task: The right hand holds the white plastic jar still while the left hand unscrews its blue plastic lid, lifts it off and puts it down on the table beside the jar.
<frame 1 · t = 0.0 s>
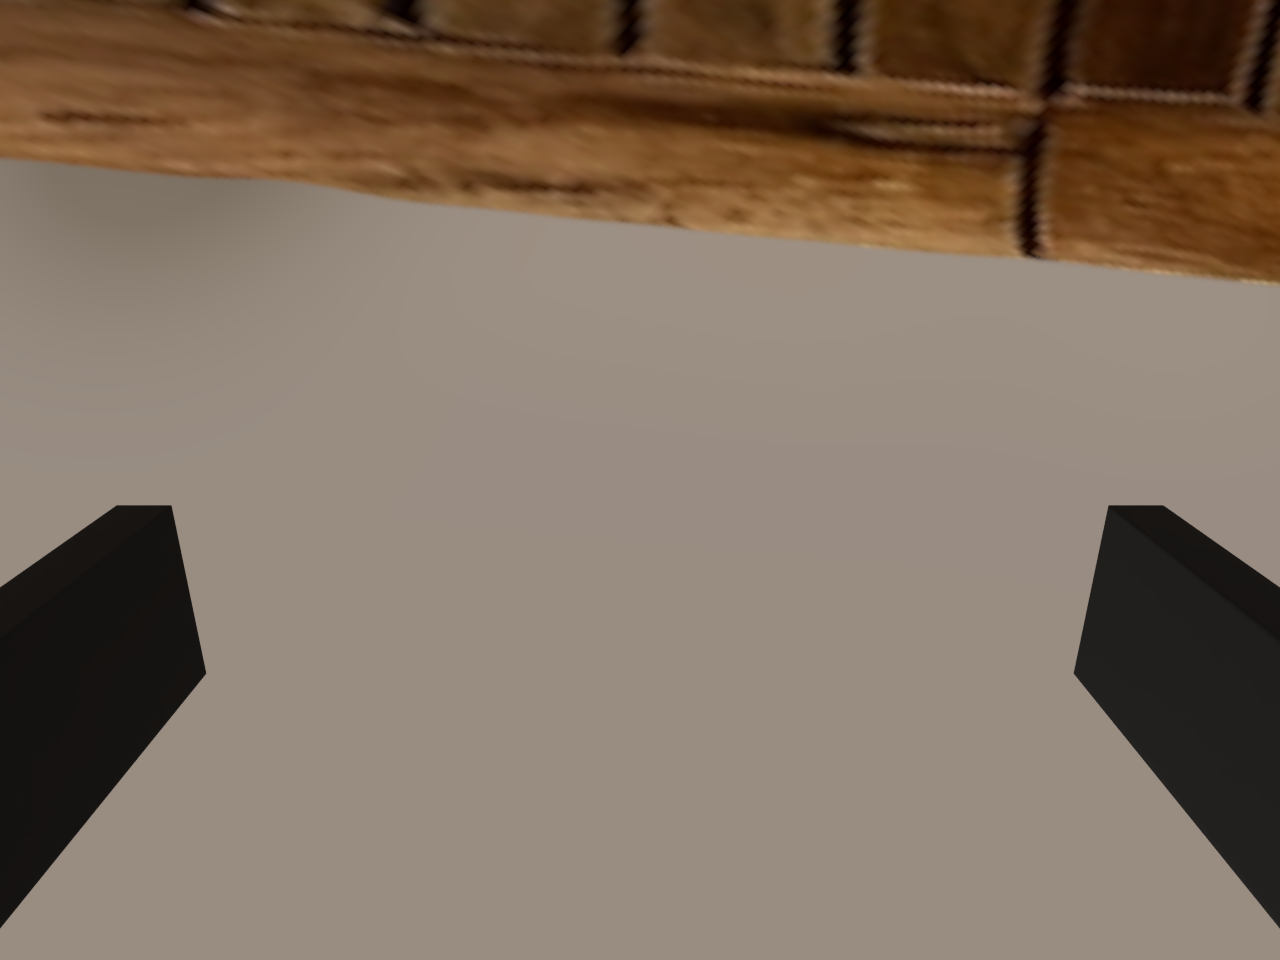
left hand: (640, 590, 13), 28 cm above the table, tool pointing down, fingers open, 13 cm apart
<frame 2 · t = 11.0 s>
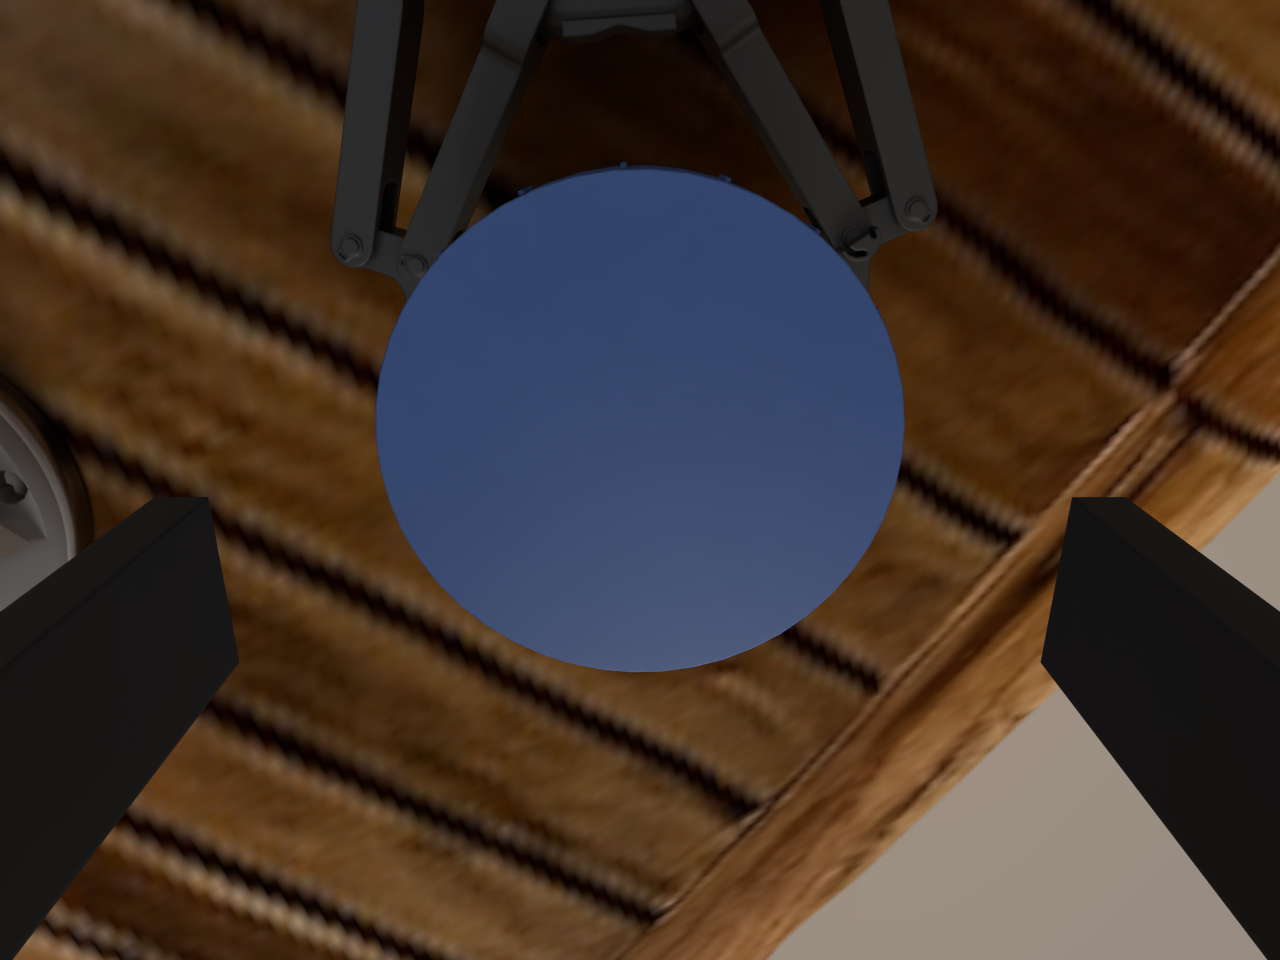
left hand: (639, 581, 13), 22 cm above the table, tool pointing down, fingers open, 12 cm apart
lid: (640, 442, 19), point 16 cm above the table, screwed on, not yet turned
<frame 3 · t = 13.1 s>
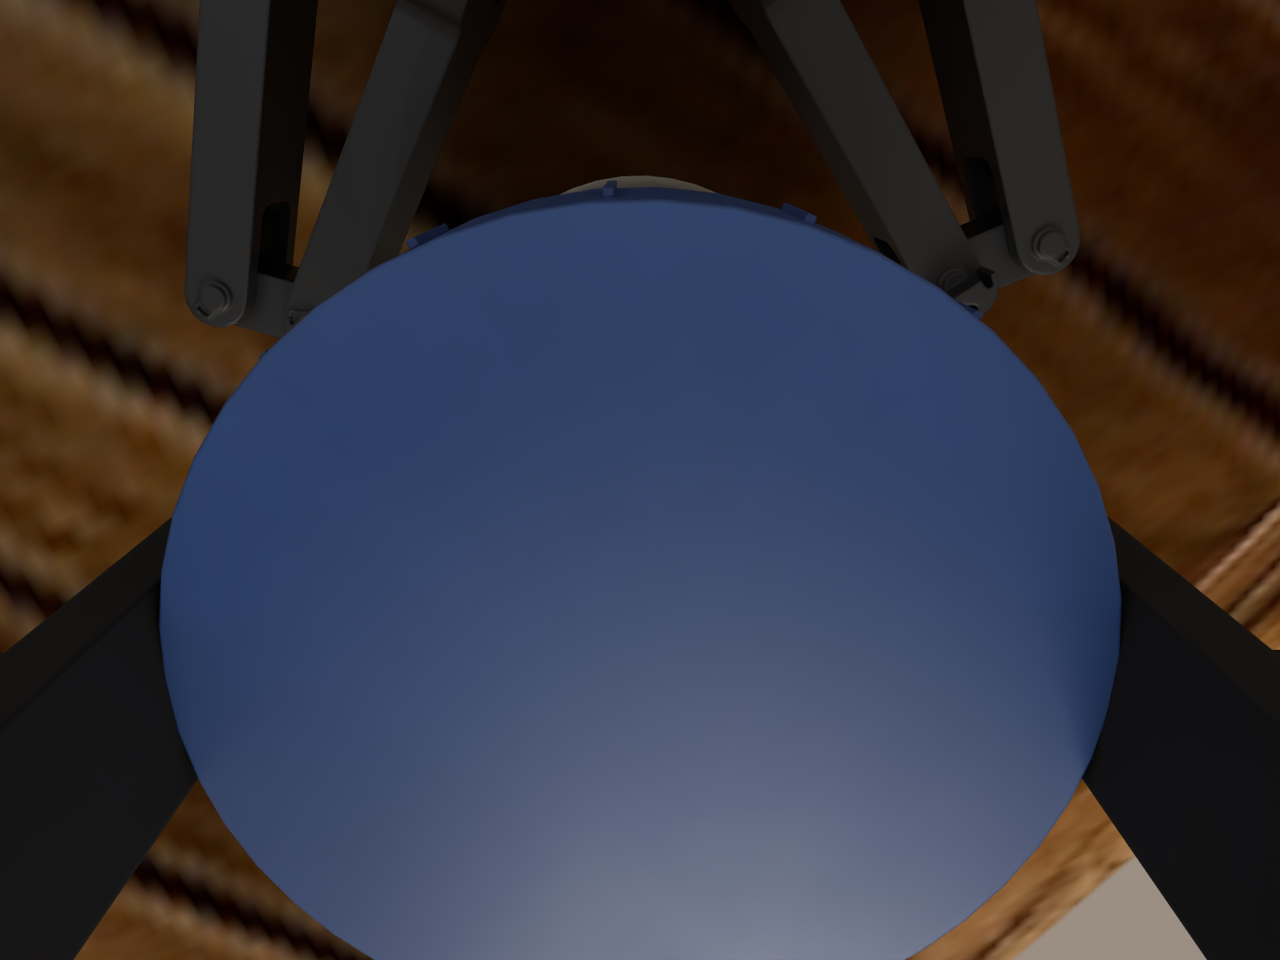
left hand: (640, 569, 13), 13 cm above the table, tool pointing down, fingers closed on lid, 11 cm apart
jar: (639, 362, 25), on the table, touching right hand
lid: (640, 677, 11), point 16 cm above the table, screwed on, not yet turned, touching left hand
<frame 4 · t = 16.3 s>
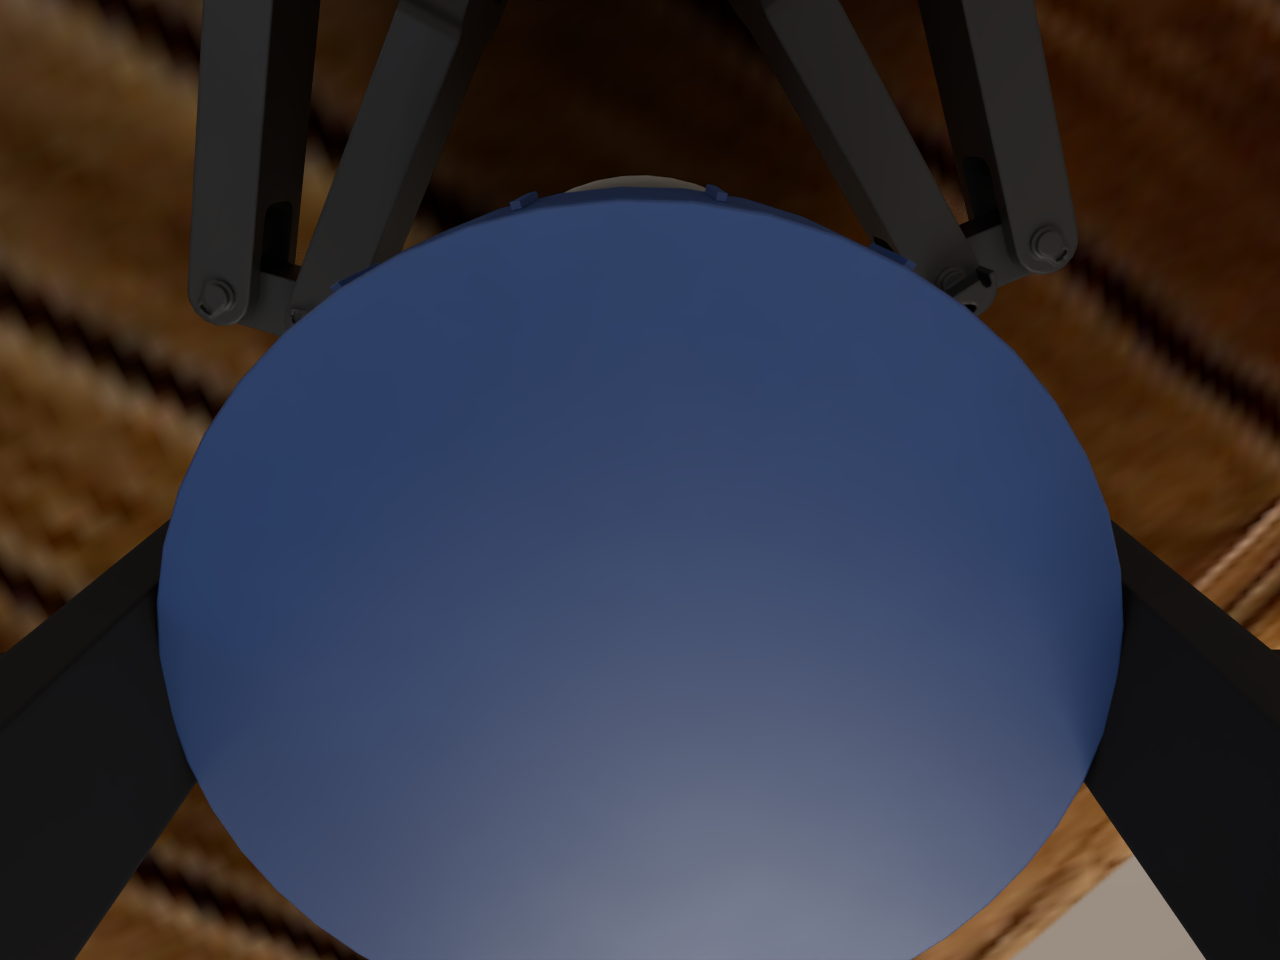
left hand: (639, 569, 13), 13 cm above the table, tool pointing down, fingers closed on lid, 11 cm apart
jar: (640, 361, 26), on the table, touching right hand
lid: (640, 679, 11), point 16 cm above the table, turned 94° so far, risen 0.1 cm, still on its thread, touching left hand
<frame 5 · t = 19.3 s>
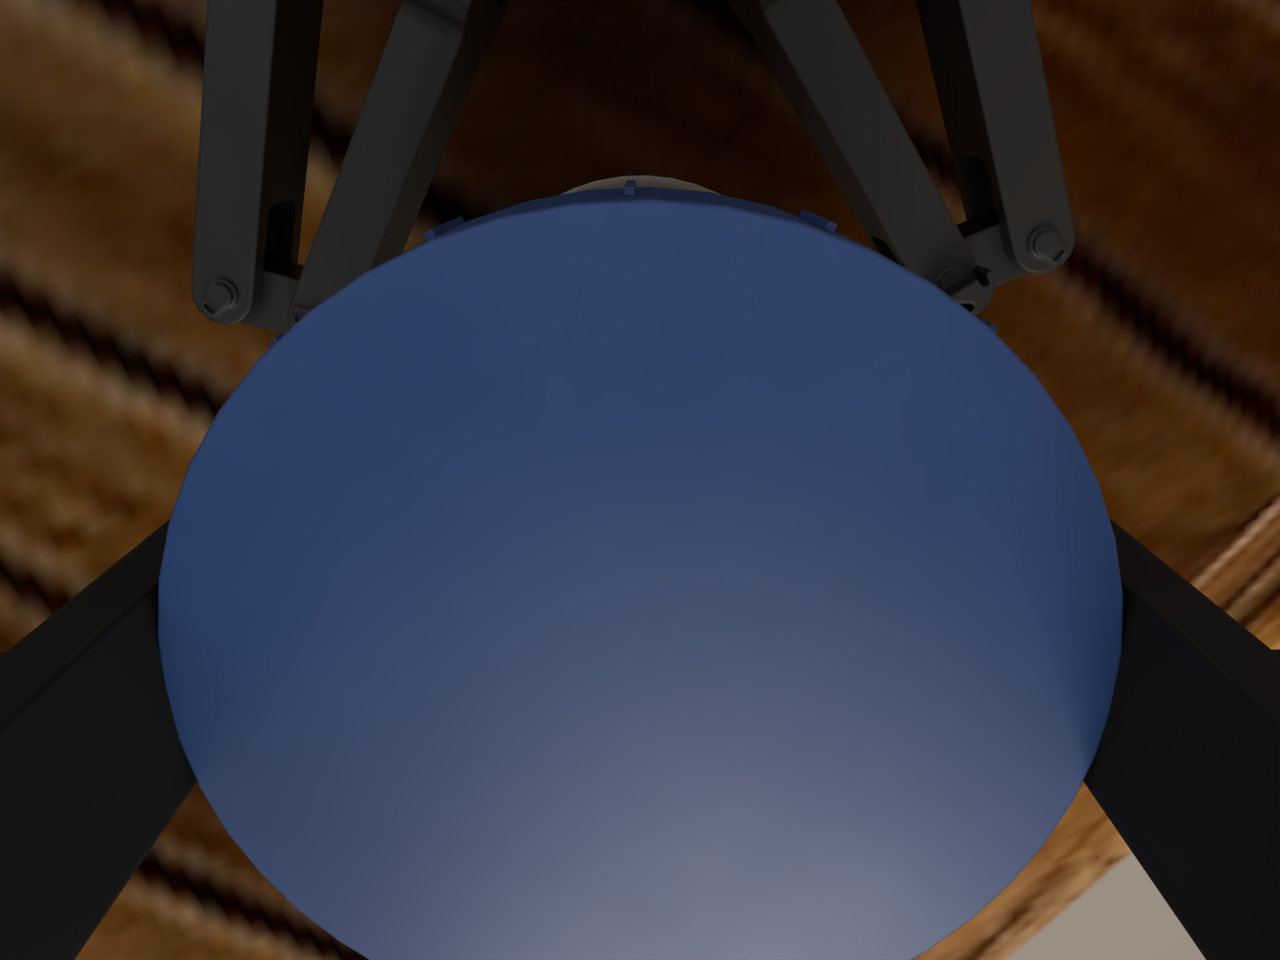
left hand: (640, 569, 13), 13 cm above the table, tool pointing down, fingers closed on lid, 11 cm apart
jar: (640, 360, 26), on the table, touching right hand
lid: (640, 679, 11), point 16 cm above the table, turned 188° so far, risen 0.3 cm, still on its thread, touching left hand
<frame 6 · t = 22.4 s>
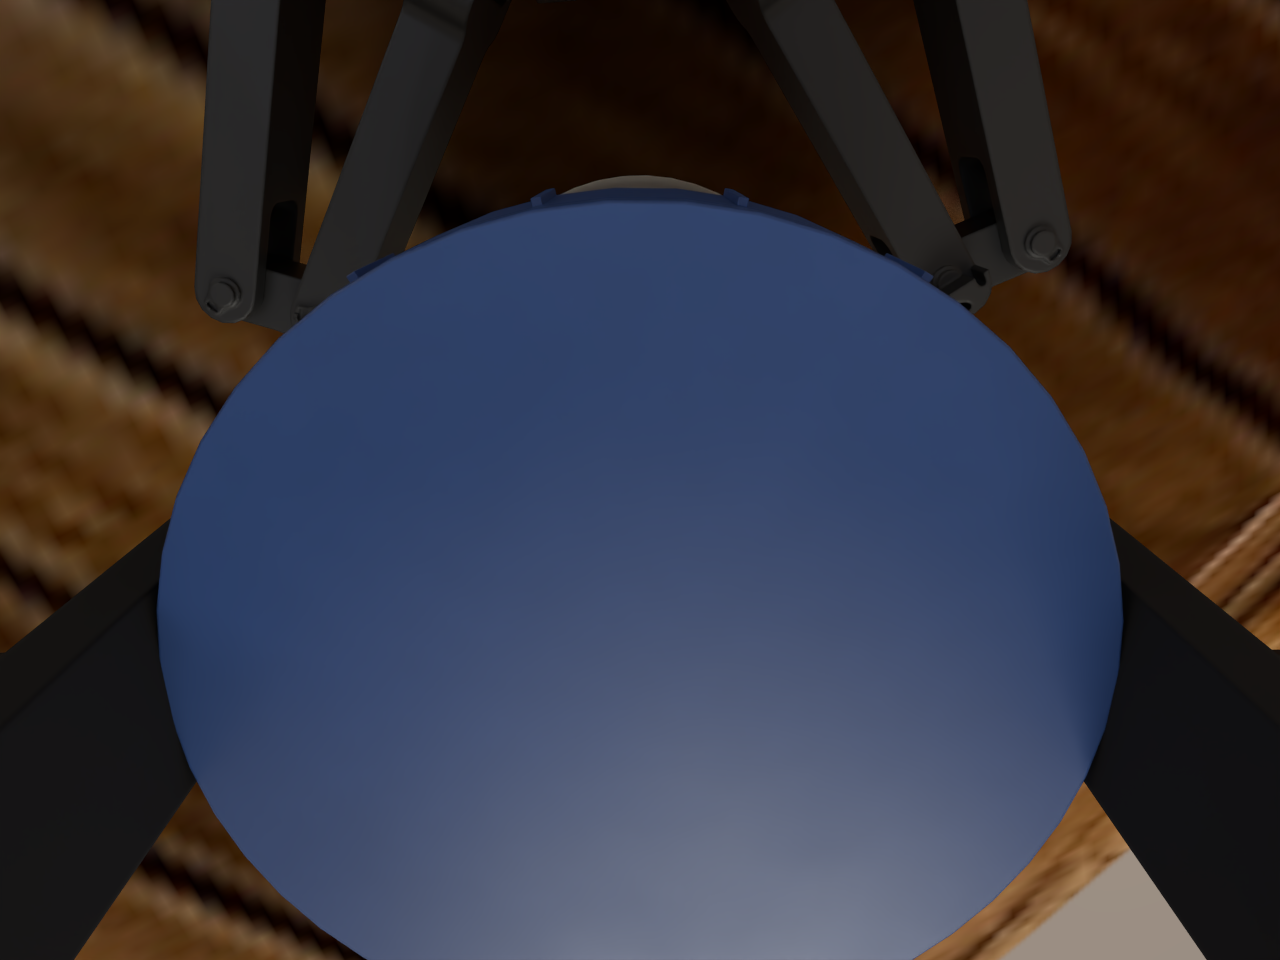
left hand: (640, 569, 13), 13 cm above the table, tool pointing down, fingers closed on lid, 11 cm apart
jar: (640, 359, 26), on the table, touching right hand
lid: (639, 680, 11), point 16 cm above the table, turned 283° so far, risen 0.4 cm, still on its thread, touching left hand
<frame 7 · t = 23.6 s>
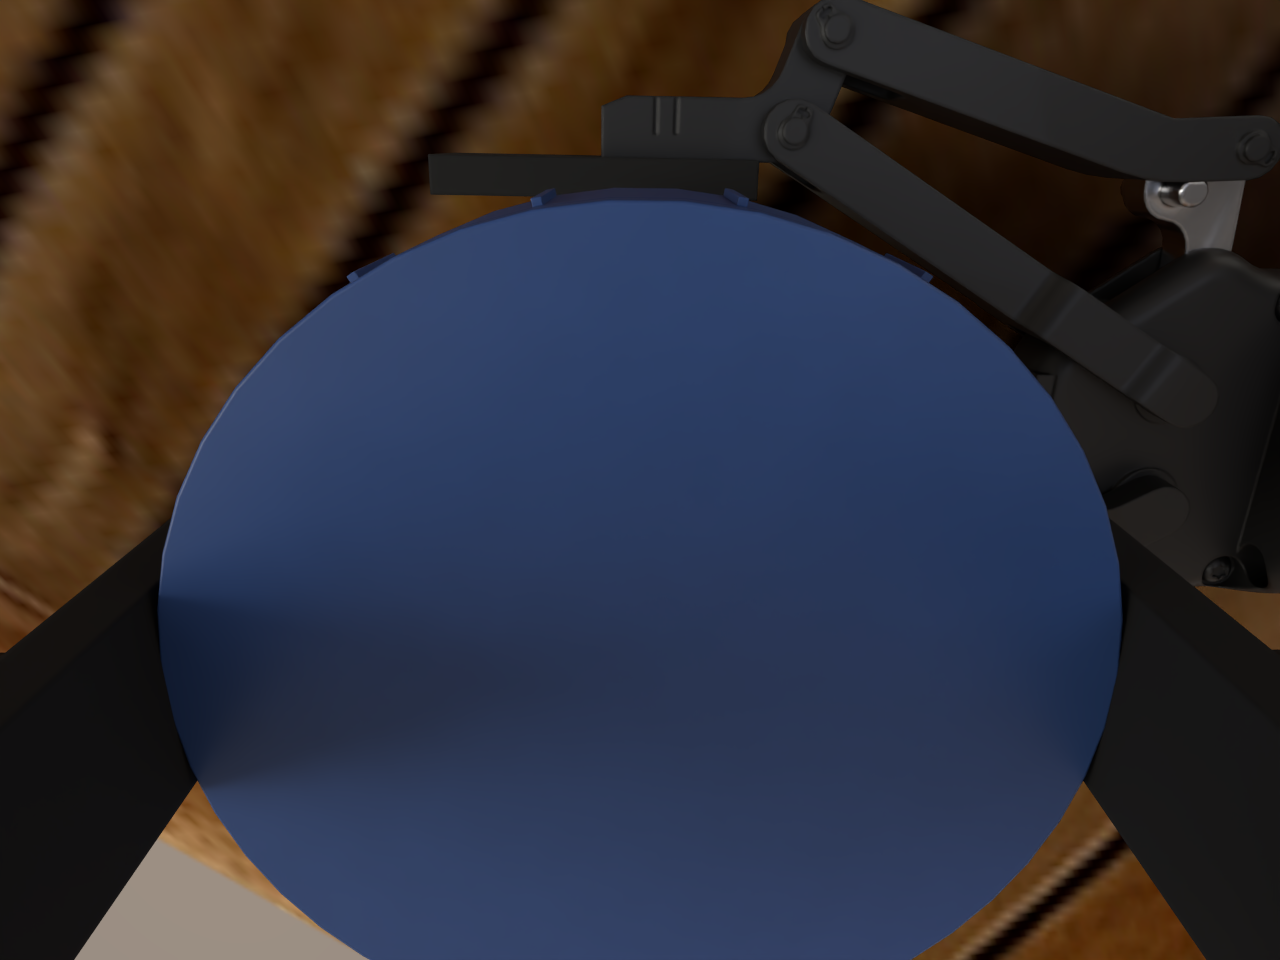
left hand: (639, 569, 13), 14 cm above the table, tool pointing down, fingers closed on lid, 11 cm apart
lid: (639, 679, 11), point 17 cm above the table, off its thread, touching left hand
when the left hand's fingers open (0 cm above the table, at t = 29.5 s): lid drops 1 cm, point 2 cm above the table.
when the right hand's fingers open (6 cm above the table, at t = 30.5 s): jar stays where it is, on the table.
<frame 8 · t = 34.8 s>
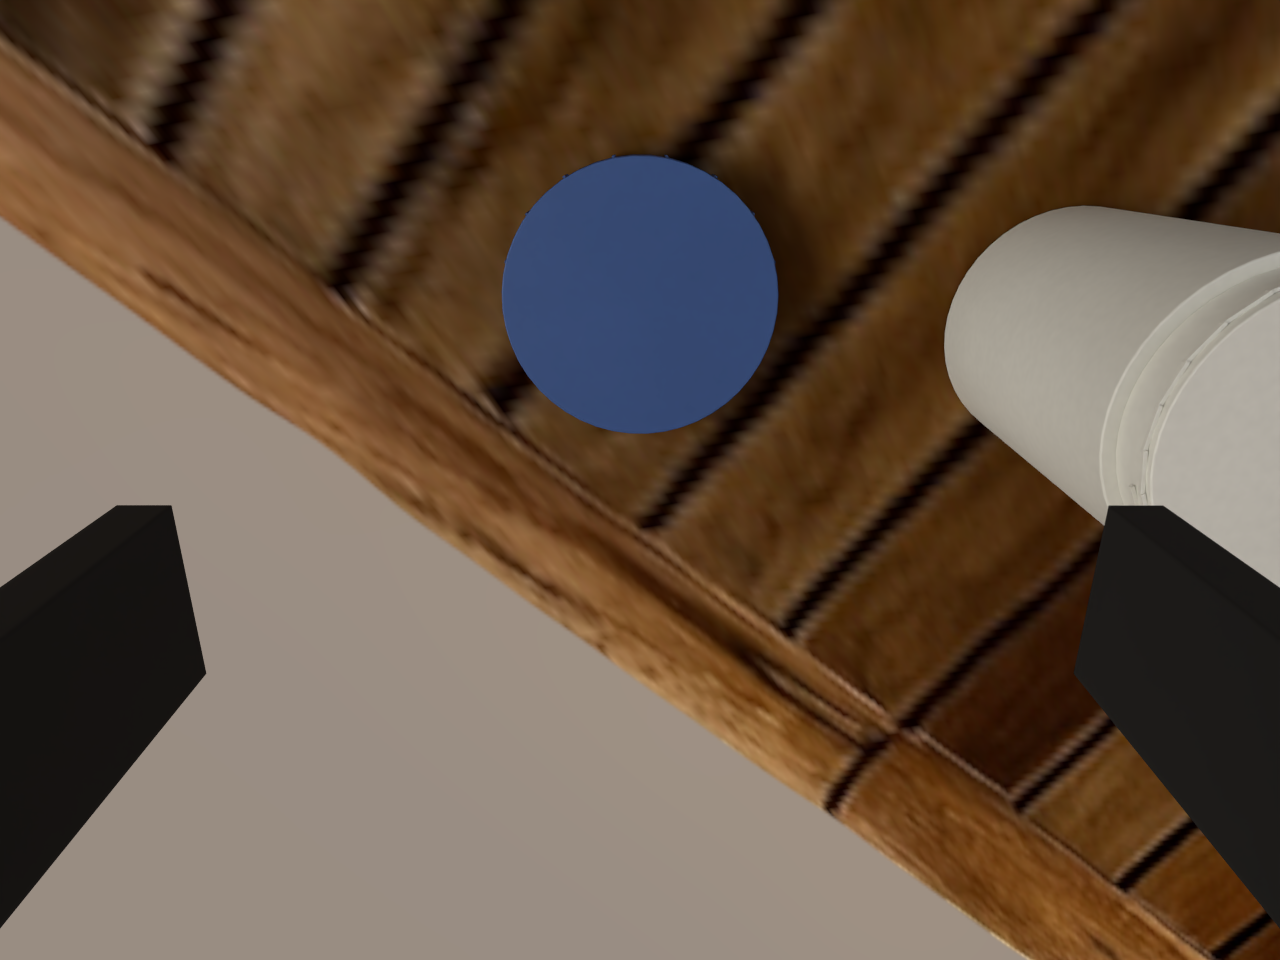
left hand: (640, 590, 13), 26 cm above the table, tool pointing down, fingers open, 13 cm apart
jar: (1063, 329, 38), on the table
lid: (640, 301, 36), point 2 cm above the table, off its thread
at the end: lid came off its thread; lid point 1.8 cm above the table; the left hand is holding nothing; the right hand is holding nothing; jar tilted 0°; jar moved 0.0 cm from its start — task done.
